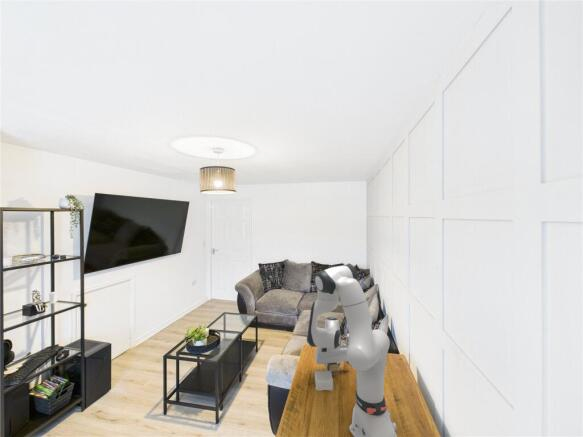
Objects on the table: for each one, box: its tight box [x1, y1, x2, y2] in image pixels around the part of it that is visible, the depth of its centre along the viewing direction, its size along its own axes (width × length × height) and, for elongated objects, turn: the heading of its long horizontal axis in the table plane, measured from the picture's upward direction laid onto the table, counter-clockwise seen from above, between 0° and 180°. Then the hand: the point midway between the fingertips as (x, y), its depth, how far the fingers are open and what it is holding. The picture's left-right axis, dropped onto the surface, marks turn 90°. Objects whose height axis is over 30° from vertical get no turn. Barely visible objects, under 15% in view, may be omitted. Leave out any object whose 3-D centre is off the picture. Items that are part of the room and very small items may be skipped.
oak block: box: [326, 362, 339, 377], centre depth 143 cm, size 5×5×6 cm
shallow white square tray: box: [314, 370, 334, 392], centre depth 133 cm, size 9×9×5 cm
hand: (332, 369), depth 143 cm, fingers closed on oak block, 5 cm apart
